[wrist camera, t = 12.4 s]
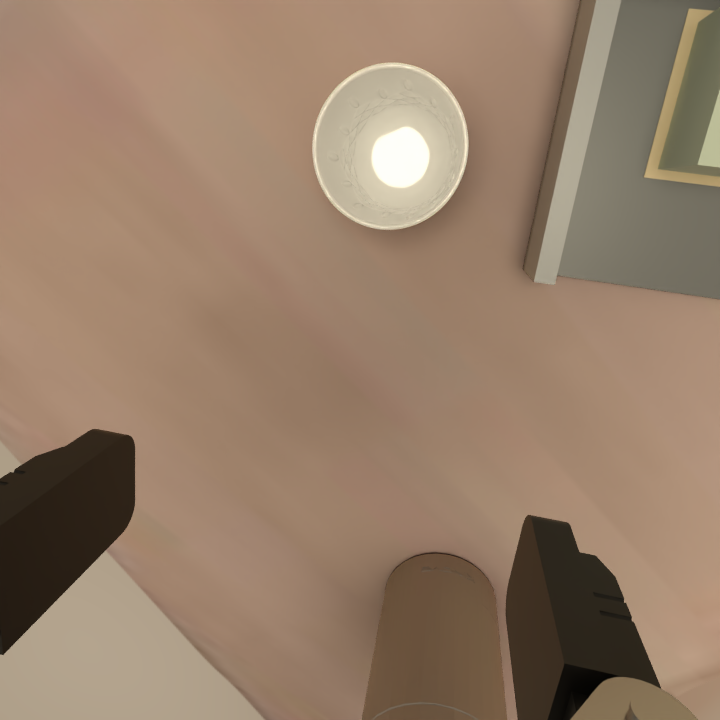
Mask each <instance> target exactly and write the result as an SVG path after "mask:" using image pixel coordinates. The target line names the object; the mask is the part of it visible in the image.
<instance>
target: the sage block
mask: <svg viewBox="0 0 720 720" xmlns="http://www.w3.org/2000/svg"><path fill="white" fill-rule="evenodd" d="M658 169H660V170H668V171H676V172H684V173H692V174H700V175H708V176H716V177H720V7H719V8H718V9H717V10H715V11H714V12H712V13H711V14H709V15H708V16H707V17H705V18H704V19H702V20H701V21H699V22H698V25H697V29H696V32H695V36H694V40H693V43H692V47H691V50H690V54H689V58H688V61H687V65H686V68H685V72H684V76H683V79H682V83H681V87H680V90H679V94H678V97H677V101H676V105H675V108H674V112H673V116H672V119H671V123H670V126H669V130H668V134H667V137H666V141H665V144H664V148H663V152H662V155H661V159H660V163H659V166H658Z"/></svg>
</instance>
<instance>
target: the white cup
mask: <svg viewBox="0 0 720 720" xmlns="http://www.w3.org/2000/svg"><path fill="white" fill-rule="evenodd" d="M468 145H469V143H468V131H467V125H466V121H465V118H464V115H463V112H462V110H461V107H460V105H459V103H458V101H457V100H456V98H455V97H454V95H453V94H452V92H451V91H450V90H449V89H448V87H447V86H446V85H445V84H444V83H443V82H442V81H440V80H439V79H438V78H437V77H435V76H434V75H432V74H431V73H429V72H427V71H426V70H424V69H421V68H419V67H416V66H413V65H409V64H405V63H394V62H391V63H380V64H375V65H372V66H368V67H366V68H363V69H361V70H359V71H357V72H355V73H354V74H352V75H350V76H349V77H348V78H346V79H345V80H344V81H342V82H341V83H340V84H339V85H338V86H337V87H336V88H335V89H334V91H333V92H332V93H331V94H330V96H329V97H328V98H327V100H326V101H325V103H324V105H323V107H322V109H321V111H320V113H319V116H318V118H317V121H316V125H315V129H314V134H313V142H312V155H313V163H314V168H315V172H316V176H317V178H318V181H319V183H320V186H321V188H322V190H323V191H324V193H325V195H326V196H327V198H328V199H329V200H330V202H331V203H332V204H333V205H334V206H335V207H336V208H337V209H338V210H339V211H340V212H341V213H342V214H343V215H345V216H346V217H348V218H349V219H351V220H352V221H354V222H356V223H358V224H361V225H363V226H366V227H369V228H374V229H380V230H397V229H403V228H407V227H411V226H414V225H416V224H419V223H421V222H423V221H425V220H426V219H428V218H430V217H431V216H433V215H434V214H435V213H437V212H438V211H439V210H440V209H441V208H442V207H443V206H444V205H445V204H446V203H447V202H448V201H449V199H450V198H451V197H452V195H453V194H454V192H455V191H456V189H457V187H458V185H459V183H460V181H461V179H462V176H463V174H464V171H465V167H466V163H467V157H468Z"/></svg>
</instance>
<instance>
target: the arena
mask: <svg viewBox="0 0 720 720" xmlns="http://www.w3.org/2000/svg"><path fill="white" fill-rule="evenodd" d="M719 7H720V0H580V4H579V8H578V13H577V18H576V22H575V27H574V32H573V36H572V41H571V46H570V50H569V55H568V60H567V64H566V69H565V74H564V78H563V83H562V88H561V92H560V97H559V102H558V106H557V111H556V116H555V120H554V125H553V130H552V135H551V139H550V144H549V149H548V153H547V158H546V163H545V167H544V172H543V177H542V181H541V186H540V191H539V195H538V200H537V205H536V209H535V214H534V219H533V223H532V228H531V233H530V237H529V242H528V247H527V251H526V256H525V261H524V265H523V270H524V271H525V272H526V273H527V275H528V276H529V277H530V278H531V279H532V280H533V282H537V283H544V284H551V285H555V282H556V278H557V276H564V277H571V278H578V279H585V280H592V281H599V282H606V283H612V284H619V285H626V286H633V287H640V288H647V289H654V290H660V291H667V292H674V293H681V294H688V295H695V296H702V297H708V298H715V299H720V177H716V176H708V175H700V174H692V173H684V172H676V171H668V170H660V169H658V166H659V163H660V159H661V155H662V152H663V148H664V144H665V141H666V137H667V134H668V130H669V126H670V123H671V119H672V116H673V112H674V108H675V105H676V101H677V97H678V94H679V90H680V87H681V83H682V79H683V76H684V72H685V68H686V65H687V61H688V58H689V54H690V50H691V47H692V43H693V40H694V36H695V32H696V29H697V25H698V22H699V21H701V20H702V19H704V18H705V17H707V16H708V15H709V14H711V13H712V12H714V11H715V10H717V9H718V8H719Z"/></svg>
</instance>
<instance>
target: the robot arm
mask: <svg viewBox="0 0 720 720" xmlns="http://www.w3.org/2000/svg"><path fill="white" fill-rule="evenodd" d="M134 506H135V444H134V440H133V438H132V437H131V436H129V435H124V434H119V433H114V432H109V431H104V430H99V429H92V430H90V431H88V432H87V433H85V434H84V435H82V436H81V437H79V438H77V439H76V440H74V441H73V442H71V443H70V444H68V445H67V446H65V447H61V448H58V449H55V450H52V451H50V452H47V453H44V454H41V455H38V456H35V457H34V458H32V459H31V460H29V461H27V462H26V463H24V464H23V465H21V466H19V467H18V468H16V469H15V471H14V473H12V472H10V473H8V474H7V475H5V476H3V477H2V478H1V479H0V654H2V655H3V654H4V653H5V652H6V651H7V650H8V649H9V648H10V647H11V646H12V645H13V644H14V643H15V642H16V641H17V640H18V639H19V638H20V637H21V636H22V635H23V634H24V633H25V632H26V631H27V630H28V629H29V628H30V627H31V625H33V624H34V623H35V622H36V621H37V620H38V619H39V618H40V617H41V616H42V614H44V612H46V611H47V609H48V608H49V607H50V606H51V605H52V604H53V603H54V602H55V601H56V600H57V599H58V598H59V597H60V596H61V595H62V594H63V593H64V592H65V591H66V590H67V589H68V588H69V587H70V586H71V585H72V584H73V583H74V582H75V581H76V580H77V579H78V578H79V577H80V576H81V575H82V574H83V573H84V572H85V571H86V570H87V569H88V568H89V567H90V566H91V565H92V564H93V563H94V562H95V561H96V559H97V558H98V557H99V556H100V555H101V554H102V553H103V552H104V551H105V550H106V549H107V548H108V547H109V546H110V545H111V544H112V543H113V542H114V541H115V540H116V539H117V538H118V537H119V536H120V535H121V534H122V533H123V532H124V530H125V529H126V528H127V526H128V524H129V522H130V520H131V517H132V514H133V511H134ZM631 619H632V616H631V614H630V612H629V609H628V607H627V604H626V603H624V597H623V595H622V592H621V590H620V587H619V585H618V583H617V580H616V578H615V576H614V575H613V574H612V573H611V572H610V571H609V570H608V568H607V567H606V566H605V565H604V564H603V563H602V562H601V561H600V560H599V559H598V558H597V557H596V556H595V555H590V554H585V553H580V552H579V550H578V547H577V544H576V541H575V538H574V535H573V532H572V529H571V527H570V525H569V523H567V522H562V521H557V520H552V519H547V518H542V517H537V516H532V515H527V517H526V518H525V520H524V523H523V527H522V531H521V535H520V539H519V543H518V547H517V551H516V555H515V559H514V563H513V567H512V571H511V575H510V579H509V583H508V589H507V596H506V622H507V631H508V639H509V648H510V657H511V665H512V674H513V682H514V691H515V699H516V708H517V717H518V720H698V719H697V718H696V717H695V715H693V714H692V712H691V711H690V710H689V709H688V708H687V707H686V706H684V705H683V704H682V703H681V702H680V701H679V700H677V699H676V698H674V697H673V696H672V695H670V694H669V693H667V692H665V691H664V690H662V689H661V687H660V684H659V682H658V679H657V677H656V675H655V672H654V670H653V667H652V665H651V662H650V660H649V658H648V655H647V653H646V650H645V648H644V646H643V643H642V641H641V638H640V636H639V633H638V631H637V629H636V626H635V624H634V622H632V620H631ZM362 720H507V713H506V702H505V692H504V681H503V671H502V660H501V650H500V638H499V627H498V617H497V606H496V598H495V594H494V590H493V588H492V586H491V584H490V582H489V580H488V579H487V578H486V577H485V576H484V574H483V573H482V572H481V571H480V570H479V569H477V568H476V567H475V566H473V565H472V564H471V563H469V562H467V561H465V560H463V559H461V558H458V557H454V556H451V555H446V554H424V555H420V556H416V557H413V558H411V559H409V560H407V561H405V562H404V563H402V564H401V565H400V566H398V567H397V568H396V569H395V570H394V572H393V573H392V574H391V576H390V578H389V580H388V582H387V584H386V589H385V595H384V600H383V605H382V611H381V616H380V621H379V626H378V632H377V637H376V643H375V648H374V654H373V659H372V665H371V671H370V676H369V682H368V687H367V693H366V698H365V704H364V710H363V715H362Z"/></svg>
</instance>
